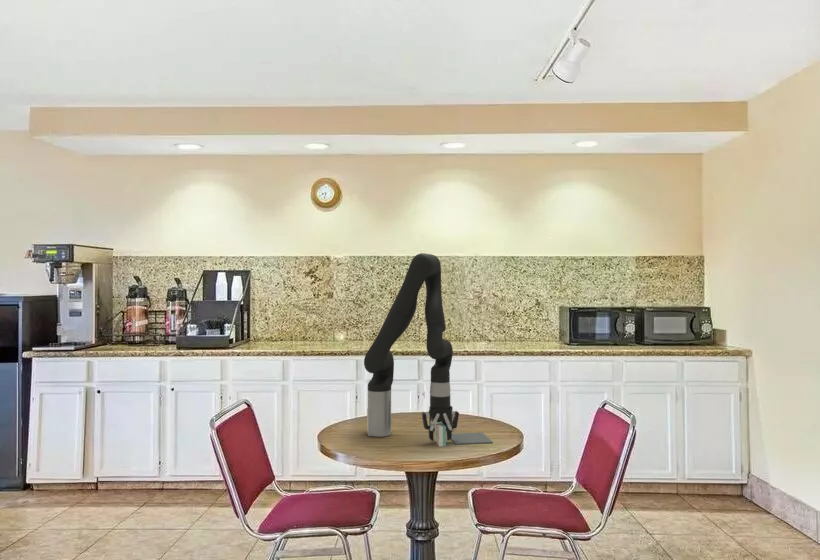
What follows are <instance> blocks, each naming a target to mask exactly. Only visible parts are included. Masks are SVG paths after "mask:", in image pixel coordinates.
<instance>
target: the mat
mask: <svg viewBox="0 0 820 560" xmlns="http://www.w3.org/2000/svg"><path fill="white" fill-rule="evenodd" d="M450 441H451V442H453V444H454V445H460V446H462V445H478V444H479V445H481V444H493V443H494V442H493V441H492V439H490V438H489V437H488V436H487V435H486V434H485V433H484V432H460V433H459V432H456V433H454V432H453V433H452V438H451V439H450Z"/></svg>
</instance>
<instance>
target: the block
mask: <svg viewBox="0 0 820 560" xmlns="http://www.w3.org/2000/svg"><path fill="white" fill-rule="evenodd" d="M434 441H435V442H437V443H436V444H437V445H438V447H439V448H441V447H442V448H443V447H447V431H446V426H445V425H444V424H443V423H442V422H436V425H435V431H434Z"/></svg>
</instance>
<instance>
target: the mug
mask: <svg viewBox="0 0 820 560" xmlns="http://www.w3.org/2000/svg"><path fill="white" fill-rule="evenodd" d="M428 407H429V408H428V411H429V410H430V406H428ZM450 408H451V411H454V410H453V406H452V405H450ZM428 418H429V421H428V422H429V423H428V426H429V425H430V423H431V420H432V417H431V416H430V414H429V415H428ZM448 420H449V422H450V425H452V423H453V416H452V414H451V415H450V417H449V418H448ZM442 423H443V424H444V425H445V426H446V432H447V429H448V428H447V425H446V423H445V422H442ZM433 432H435V426H434V428H433Z"/></svg>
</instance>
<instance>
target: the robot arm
mask: <svg viewBox="0 0 820 560" xmlns="http://www.w3.org/2000/svg"><path fill="white" fill-rule="evenodd" d="M401 284H402V285H401V287H400V289H399V290H398V292H397V294H396V296H395V299H394V301H393V302H392V305H391V307H390V308H389V310H388V313H387V315H386V317H385V319H384V321H383V323H382V325H381V328H380V329H379V331H378V334H377V336H376V337H375V339H374V341H373V342H372V343H371V346H370V347H369V348H368V350H367V352H366V353H365V356H364V359H363V365H364V369H365V370H366V372H367V373H370V374H372V377H371V379H370V380H369V381H368V382H367V408H366V418H367V419H366V424H367V425H366V431H367V432H366V433H367V437H374V438H375V437H376V438H377V437H378V438H380V437H381V438H383V437H388V436H391V435H392V385H393V382H394V371H395V370H394V369H395V359H394V356H393V353H392V351H391V348H392V347H393V345H394V344H395V343H396V342H397V340H398V339H399V338H400V337H401V336H402V335H403V334H404V333H405V331H406V330H407V329H408V328H409V326H410V325H411V322H412V321H413V318H414V316H415V314H416V311H417V307H418V296H419V293H420V290H421V288H422V286H423V285H425V289H426V293H425V303H424V318H425V323H426V328H427V332H426V351H427V355H429V357H430V358H431V359H432V360H435V362H434V365H432V367H431V368H430V384H429V385H430V386H429V407H430V410H429V409H428V411H425V412H424V411H421V416H422V422H423V423H422V424H423V427H424V429H425V430H428V438H429V440H430V441H431V442H433V441H435V431H433V428H434V426H435V425H436V422H445V423H446V425H447V428H448V429H447V431H446V441H451V438H452V434H453V433H452V432H453V429H457V427H458V422H459V416H460V412H458V410H455V411H454V410H453V411H451V408H450V406H451V383H450V381H451V380H450V379H451V377H450V370H451V366H452V360H453V357H454V356H453V355H454V353H453V351H454V350H453V345H452V343H451V342H450V340H449V339H445V338H444V339H443V336H444V334H443V333H444V332H445V331H446V330H447V326H446V320H445V314H444V313H445V312H444V306H443V305H444V304H443V297H442V296H443V295H442V265H441V260H440V259H439V257H438V256H436V255H434V254H431V253H425V252H424V253H423V252H421V253H418V254H416V255H414V257H412V260H411V262H410V264H409V266H408V269H407V273H406V275H405V276H404V280H403V283H401ZM429 414H430V416H431V417H432V420H431V423H430V425H429V423H428V418H429ZM451 414H452V416H453V423H452V425H450V422H449V420H448V418H449V417H450V415H451Z"/></svg>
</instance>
